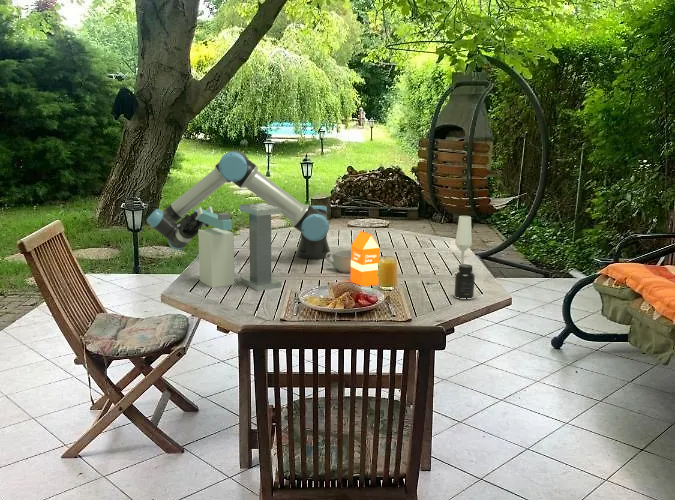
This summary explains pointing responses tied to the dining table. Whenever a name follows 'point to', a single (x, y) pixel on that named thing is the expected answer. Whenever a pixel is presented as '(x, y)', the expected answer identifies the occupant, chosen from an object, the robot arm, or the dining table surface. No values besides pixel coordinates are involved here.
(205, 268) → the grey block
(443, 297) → the dining table surface
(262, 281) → the standard post
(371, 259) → the orange juice
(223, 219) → the ledger bar
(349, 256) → the teacup
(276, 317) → the dining table surface
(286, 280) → the dining table surface
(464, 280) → the supplement bottle
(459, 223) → the champagne flute
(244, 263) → the dining table surface
